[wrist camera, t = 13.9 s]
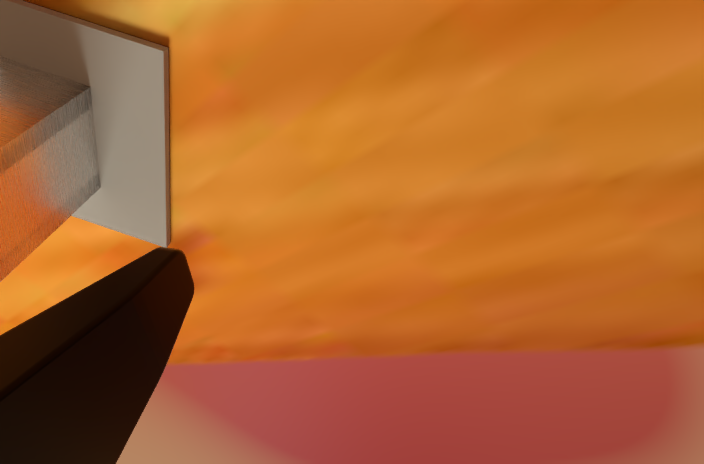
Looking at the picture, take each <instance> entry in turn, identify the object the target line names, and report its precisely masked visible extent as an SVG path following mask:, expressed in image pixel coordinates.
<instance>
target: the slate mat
mask: <svg viewBox="0 0 704 464" xmlns="http://www.w3.org/2000/svg"><path fill="white" fill-rule="evenodd" d="M0 56H2V57H5V58H8V59H11V60H14V61H17V62H19V63H22V64H25V65H28V66H31V67H34V68H37V69H40V70H43V71H46V72H49V73H52V74H55V75H58V76H60V77H63V78H66V79H69V80H72V81H75V82H78V83H81V84H84V85H87V86H90V87H91V96H92V106H93V116H94V126H95V136H96V146H97V156H98V166H99V176H100V185H101V188H100V189H99V190H98V191H97V192H96V193H95V194H93V195H92V196H91V197H90V198H89V199H88V200H87V201H86V202H85V203H84V204H83V205H82V206H81V207H80V208H79V209H77V210H76V211H75V212H74V213H73V214H72V215H71V216H74V217H77V218H80V219H83V220H86V221H89V222H91V223H94V224H97V225H100V226H103V227H106V228H109V229H112V230H115V231H118V232H121V233H124V234H127V235H130V236H133V237H136V238H139V239H142V240H145V241H147V242H150V243H153V244H156V245H159V246H162V247H165V248H167V247H168V245H169V244H170V162H169V51H168V47H165V46H162V45H159V44H156V43H153V42H149V41H146V40H143V39H140V38H137V37H134V36H131V35H128V34H125V33H122V32H119V31H115V30H112V29H109V28H106V27H103V26H100V25H97V24H94V23H91V22H88V21H85V20H82V19H78V18H75V17H72V16H69V15H66V14H63V13H60V12H57V11H54V10H51V9H48V8H44V7H41V6H38V5H35V4H32V3H29V2H26V1H23V0H0Z"/></svg>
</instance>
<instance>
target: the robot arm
mask: <svg viewBox="0 0 704 464" xmlns="http://www.w3.org/2000/svg"><path fill="white" fill-rule="evenodd" d="M193 294H194V282H193V279H192V276H191V272H190V269H189V266H188V263H187V259H186V256H185V254H184V253H183V252H182V251H181V250H179V249H172V248H165V247H159V248H156V249H154V250H152V251H151V252H149V253H147V254H145V255H143V256H142V257H140V258H138V259H136V260H134V261H133V262H131V263H129V264H127V265H126V266H124V267H122V268H120V269H118V270H117V271H115V272H113V273H111V274H109V275H108V276H106V277H104V278H102V279H100V280H99V281H97V282H95V283H93V284H91V285H90V286H88V287H86V288H84V289H82V290H81V291H79V292H77V293H75V294H74V295H72V296H70V297H68V298H66V299H65V300H63V301H61V302H59V303H57V304H56V305H54V306H52V307H50V308H48V309H47V310H45V311H43V312H41V313H39V314H38V315H36V316H34V317H32V318H30V319H29V320H27V321H25V322H23V323H21V324H20V325H18V326H16V327H14V328H13V329H11V330H9V331H7V332H5V333H4V334H2V335H0V464H116V462H117V460H118V458H119V457H120V455H121V453H122V451H123V449H124V447H125V445H126V443H127V441H128V439H129V437H130V435H131V434H132V431H133V429H134V428H135V426H136V424H137V422H138V420H139V418H140V416H141V414H142V412H143V410H144V409H145V407H146V405H147V403H148V401H149V399H150V397H151V395H152V393H153V391H154V389H155V387H156V386H157V384H158V382H159V379H160V377H161V375H162V373H163V371H164V369H165V367H166V364H167V362H168V359H169V357H170V354H171V352H172V349H173V347H174V344H175V342H176V339H177V336H178V334H179V331H180V329H181V326H182V324H183V321H184V319H185V316H186V313H187V311H188V308H189V306H190V303H191V301H192V298H193Z"/></svg>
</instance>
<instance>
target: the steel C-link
mask: <svg viewBox="0 0 704 464" xmlns="http://www.w3.org/2000/svg"><path fill="white" fill-rule="evenodd" d="M100 188H101V185H100V176H99V166H98V156H97V146H96V136H95V126H94V116H93V106H92V96H91V87H90V86H87V85H84V84H81V83H78V82H75V81H72V80H69V79H66V78H63V77H60V76H58V75H55V74H52V73H49V72H46V71H43V70H40V69H37V68H34V67H31V66H28V65H25V64H22V63H19V62H17V61H14V60H11V59H8V58H5V57H2V56H0V282H1V281H2V280H3V279H4V278H5V277H6V276H7V275H8V274H9V273H10V272H11V271H12V270H13V269H15V268H16V267H17V266H18V265H19V264H20V263H21V262H22V261H23V260H24V259H25V258H26V257H27V256H28V255H29V254H31V253H32V252H33V251H34V250H35V249H36V248H37V247H38V246H39V245H40V244H41V243H42V242H43V241H44V240H45V239H47V238H48V237H49V236H50V235H51V234H52V233H53V232H54V231H55V230H56V229H57V228H58V227H59V226H60V225H61V224H63V223H64V222H65V221H66V220H67V219H68V218H69V217H70V216H71V215H72V214H73V213H74V212H75V211H76V210H77V209H79V208H80V207H81V206H82V205H83V204H84V203H85V202H86V201H87V200H88V199H89V198H90V197H91V196H92V195H93V194H95V193H96V192H97V191H98V190H99V189H100Z"/></svg>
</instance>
